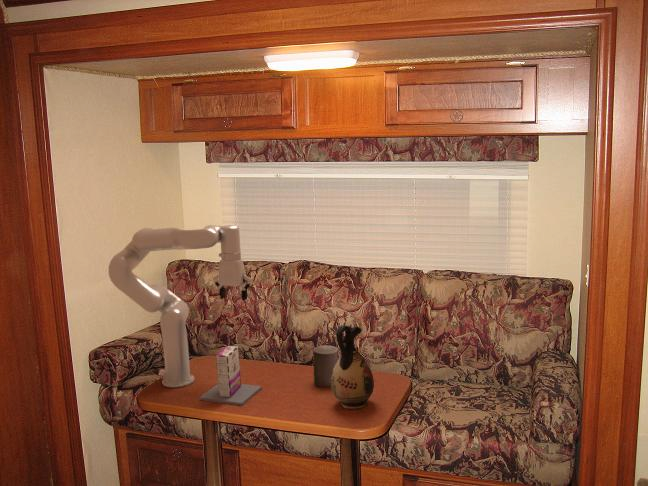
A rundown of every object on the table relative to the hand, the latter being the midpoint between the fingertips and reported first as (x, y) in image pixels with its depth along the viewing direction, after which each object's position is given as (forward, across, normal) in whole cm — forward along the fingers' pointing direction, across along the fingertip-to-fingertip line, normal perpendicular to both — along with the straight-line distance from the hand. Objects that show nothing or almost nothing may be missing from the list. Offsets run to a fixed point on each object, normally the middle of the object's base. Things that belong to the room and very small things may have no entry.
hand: (233, 298), depth 243 cm
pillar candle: (+34, +36, +6) cm, 50 cm away
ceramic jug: (+34, +52, -11) cm, 63 cm away
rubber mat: (+33, +5, -15) cm, 37 cm away
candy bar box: (+32, +5, -15) cm, 36 cm away
